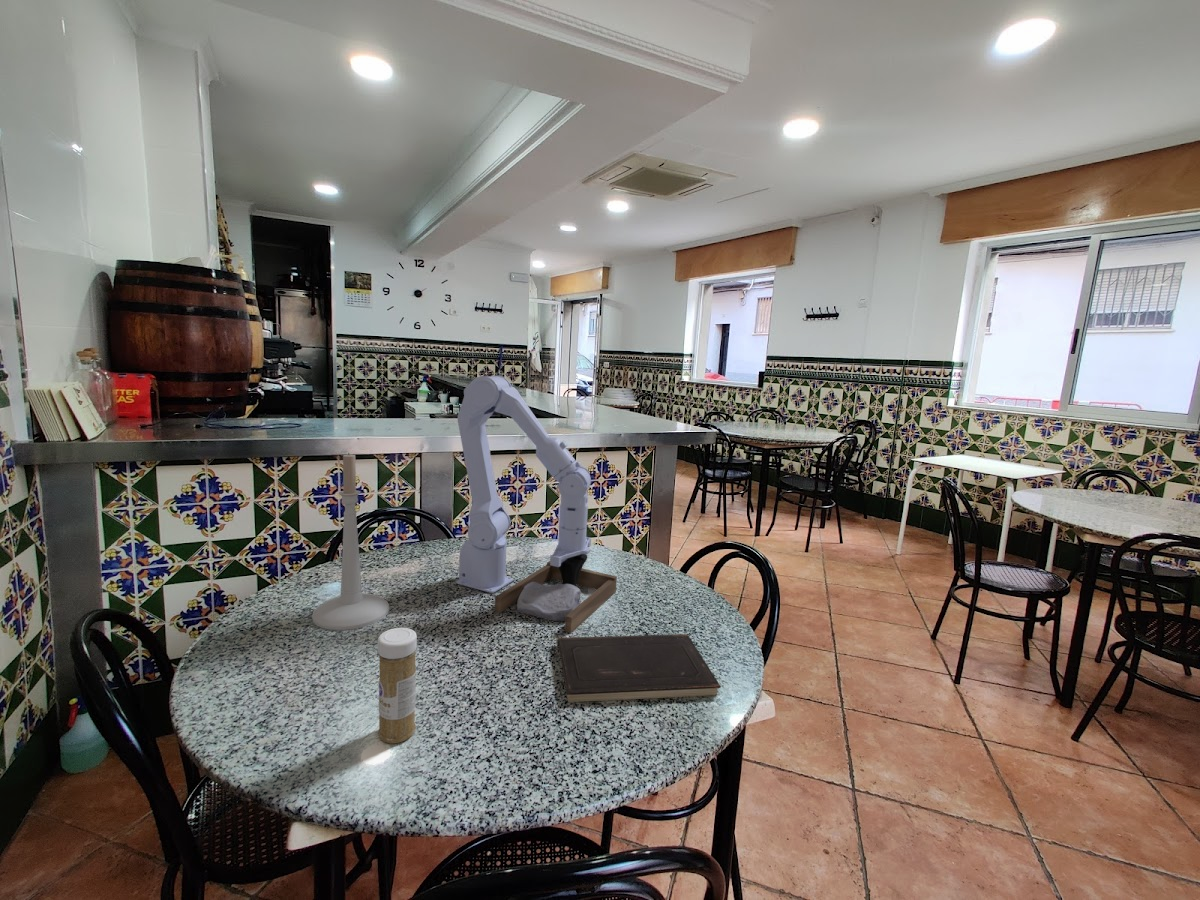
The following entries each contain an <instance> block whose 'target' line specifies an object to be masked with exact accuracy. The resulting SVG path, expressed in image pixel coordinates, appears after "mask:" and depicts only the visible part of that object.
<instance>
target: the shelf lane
mask: <svg viewBox="0 0 1200 900" xmlns="http://www.w3.org/2000/svg"><path fill="white" fill-rule="evenodd" d="M551 579H552V580H556V581H560V582H563V581H562V576H561V573H560V570H559V567H556V566H551V565H550V560H549V561H547V562H546V565H544V566H543V567H541V568H539V569H538V570H536V571H535V572H533V573H531V574H529V575H528V576H526V577H525V578H523V579H522V580H520V581H518V582H516V583H515V584H513V585H512V586H510V587H509V588H507V589H505V590H504V591H502V592H501V593H499V594H497V595H495V597H494V612H496V613H499V614H501V613H502V612H504V611H505V610H507V609H509V608H510V607H512V606H513V605H514V604H515V603H516V604H517V602H518V598H519V596H520V594H521V592H522V591H523V589H524V587H525V586H526V585H527V584H529V583H531V582H537V583H539V584H541V585H545V583H547V582H548V581H550V580H551ZM617 580H618V577H617V576H616V575H612V574H607V573H603V572H600V571H599V572H598V571H596V570H591V569H586V568H583V567H582V569H581V572H580V575H579V578H578V581H577V585H576V586H579V587H584V588H587V589H592V590H595V591H594V592H593V593H591V594H590V595H588V597H587V598H585V599H584V600H583V601H582V602H580V603H579V605H578V606H577V607H576V608H575V609H574V610H572V611H571V612H570V613H569V614H568V615H567V616H566V621H564V622H565V623H564V632H565V633H568V634H572V633H573V632H574V631H575V630H576V629H577V628H579V627H580V625H582V624H583V623H584V622H586V620H587V619H588V618H590V616H592V614H594V613H595V612H596V611H597V610H599V608H600V607H602V605H604V604H605V603H606V601H608V600H609V599H610V598H611V597H612V596H613V595H614V594H616V593H617V591H616V590H617Z"/></svg>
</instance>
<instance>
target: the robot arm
mask: <svg viewBox="0 0 1200 900" xmlns="http://www.w3.org/2000/svg"><path fill="white" fill-rule="evenodd" d="M463 395H464V396H463V399H462V402H461V406H460V408H459V412H458V413H457V423H458V430H459V436H460V441H461V446H462V452H463V457H464V462H465V468H466V474H467V478H468V484H469V485H468V486H469V489H470V495H471V501H472V503H471V506H470V510H469V513H468V514H469V515H468V518H469V524H468V525H469V526H468V528H467V536H468V539H467V540H466V541H464V543H463V544H462V546H461V547H460V551H459V555H458V556H459V558H458V559H459V560H458V561H459V562H458V564H459V565H458V566H459V567H458V580H457V581H456V584H458V585H461V586H464V587H469V588H471V589H476V590H478V591H479V590H480V591H483V592H487V593H490V594H494V593H495V592H498V591H499V590H501V589H503V588H504V587H505V586H507V585H508V584H510V583H512V582H514V578H513V577H509V576H506V575H507V571H506V569H507V546H508V545H507V544H508V542H507V541H508V540H507V539H506V533H507V532H508V531H509V530H510V528H511V517H510V515H509V514H508V513H507V511H506V510H505V506H504V502H503V501H502V499H501V498H500V497H499V495H498V490H497V484H496V479H495V473H494V468H493V461H492V457H491V456H492V455H491V449H490V444H489V440H488V434H487V428H486V422H487V421H488V420H489V419H490V417H492V415H493V414H494V413H498V414H502V415H505V416H509V417H510V418H512V420H513V421H514V422H515V423H516V424H517V426H519V428H520V429H521V430H522V432H523V433H524V434H525V435H526V436H527V437H528V438H529V439H530V440H531V442H532V443H533V444H534V445H535V457H536V458H537V459H538V460H539V461H540V463H541V464H542V465H543V466H544V468H545V470H547V472H548V473H549V475H550V476H551V477H552V478H553V480H555V481H557V482H558V484H557V489H558V492H559V494H560V504H559V516H558V517H559V518H558V519H559V522H558V538H557V540H558V541H557V545H556V547H555V549H554V552H553V553H552V554H551V555H549V556H550V558H549V561H550V565H551V566H556V567H559V570H560V573H561V576H562V581H561V582H562V584H571V585H574V586H576V587H577V586H578V585H577V581H578V578H579V575H580V572H581V569H582V568H583V567H584V566H585V565H584V564H585V563H586V562H587V559H588V554H590V553H591V548H590V547H591V544H592V538H591V537H588V536H587V528H588V515H589V514H588V511H589V504H588V501H589V497H588V495H589V492H587V491H588V490H589V489H590V486H591V483H592V478H591V477H592V476H591V475H590V472H589V471H588V468H587V467H584V466H582V463H581V462H580V461H577V460H576V459H575V458H574V457H573V455H572V454H571V453H570V452H569V450H568V449H567V447H568V444H567V443H566V441H565V440H563V441H561V440H560V438H558V437H555V436H553V437H552V436H550V435H549V434H548V433H547V431H546V430H545V428H544V426H543V425H542V423H540V421H539V420H538V419H537V417H536V416H535V414H534V413H533V411H532V410H531V408H530V407H529V405H528V404H527V403H526V401H525V400H524V399H523V397H522V395H520V392H519V390H517V388H515V386H512V384H511V382H510V381H509V380H508V378H506V377H505V376H503V375H498V374H497V375H493V376H486V375H482V376H477V377H475V378H474V379H473V380H471V381H470V383H469V384H468V385H467V386H466V387H465V388H464V389H463Z"/></svg>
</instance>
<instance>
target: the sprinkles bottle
mask: <svg viewBox="0 0 1200 900" xmlns="http://www.w3.org/2000/svg"><path fill="white" fill-rule="evenodd" d="M417 647H418V637H417V633H416V631H414V630H413V629H411V628H409V627H408V628H407V627H395V628H391V629H388V630H385V631H384V632H382V633H381V634H380V635H379V636H378V638H377V653H378V657H379V679H378V716H379V717H378V718H379V720H378V723H379V724H378V725H379V727H378V731H377V732H378V733H377V735H378V738H379V739H380V740H381V741H382V742H383V743H387V744H398V743H402V742H404V741H406V740H408V739H409V738H411V737H412V736H413V735H414V734H415V732H416V727H417V726H416V722H415V721H416V720H415V717H416V716H415V715H416V714H415V712H416V711H415V709H416V697H417V695H416V694H417V691H416V689H417V687H416V685H417V683H416V681H417V680H416V678H417V677H416V675H417V672H416V671H417V670H416V650H417Z"/></svg>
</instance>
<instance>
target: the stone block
mask: <svg viewBox="0 0 1200 900" xmlns="http://www.w3.org/2000/svg"><path fill="white" fill-rule="evenodd" d="M581 594H582V593H581V589H580V588H578V586H577V585H576V586H574V585H571V584H563V583H556V584H553V585H546V584H542V585H541V584H539V583H537V582H531V583H529V584H527V585H526V586H525V587H524V589H523V591H522V592H521V594H520V596H519V598H518V601H517V602H516V608H517V609H516V611H517V612H518V613H521V614H525V615H529V616H534V617H538V618H540V619H545V620H550V621H554V622H565V621H566V616H567V615H568V614H569V613H570V612H571V611H572V610H574V609H575V608H576V607H577V606H578V605H580V604H581V601H580V600H581Z"/></svg>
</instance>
